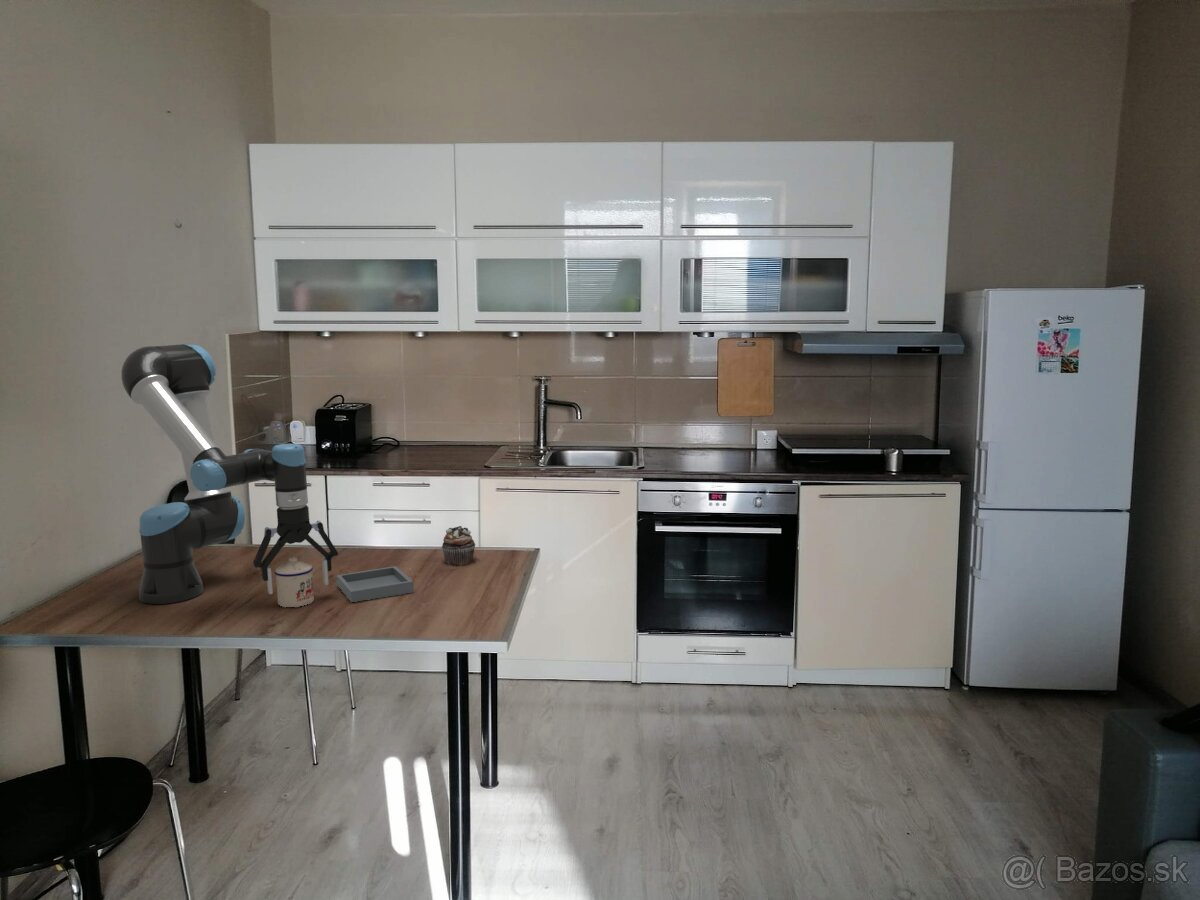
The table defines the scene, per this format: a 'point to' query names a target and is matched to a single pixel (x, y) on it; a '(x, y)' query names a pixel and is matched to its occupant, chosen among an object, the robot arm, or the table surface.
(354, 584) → the square tray
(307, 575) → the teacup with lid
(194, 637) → the table surface
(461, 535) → the cupcake
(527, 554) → the table surface
